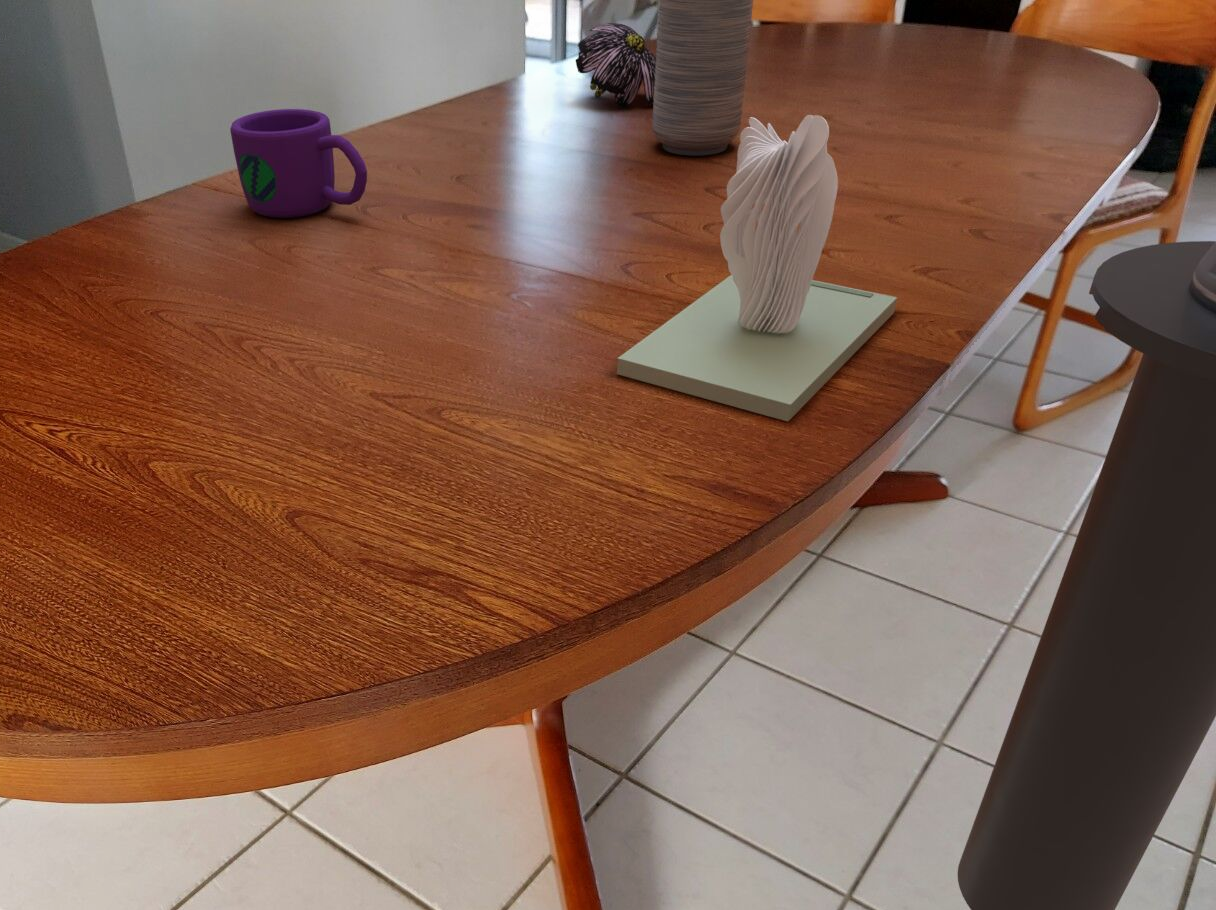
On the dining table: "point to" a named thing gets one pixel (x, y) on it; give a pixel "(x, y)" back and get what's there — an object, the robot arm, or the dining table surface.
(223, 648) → the dining table surface
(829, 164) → the shell sculpture
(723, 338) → the cutting board
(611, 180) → the dining table surface
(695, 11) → the vase
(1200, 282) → the robot arm
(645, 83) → the decorative flower
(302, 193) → the mug
